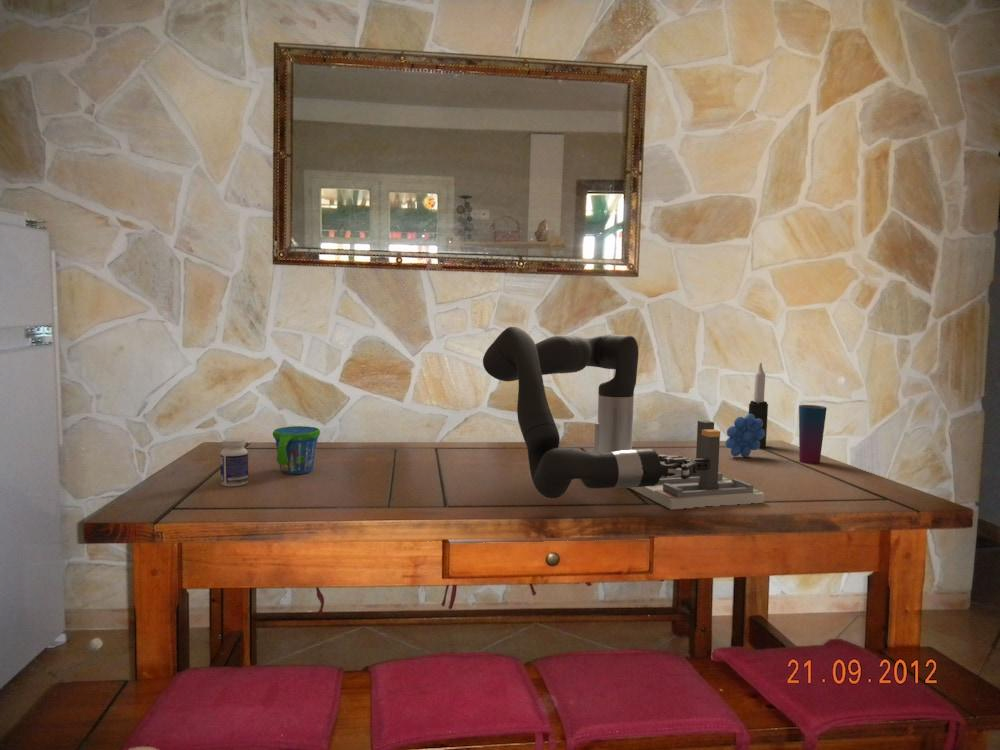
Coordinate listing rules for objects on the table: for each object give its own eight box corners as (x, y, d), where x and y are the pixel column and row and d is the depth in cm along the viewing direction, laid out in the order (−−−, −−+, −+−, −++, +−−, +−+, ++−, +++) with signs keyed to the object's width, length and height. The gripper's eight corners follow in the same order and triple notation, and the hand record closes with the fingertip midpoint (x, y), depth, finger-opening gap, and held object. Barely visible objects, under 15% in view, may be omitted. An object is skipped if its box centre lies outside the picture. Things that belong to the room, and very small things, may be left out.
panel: (670, 509, 145) (673, 435, 144) (627, 486, 163) (629, 421, 162) (764, 502, 151) (767, 432, 150) (712, 481, 170) (714, 418, 168)
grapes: (754, 453, 205) (756, 411, 204) (768, 458, 198) (770, 414, 197) (717, 454, 202) (719, 411, 201) (729, 459, 196) (731, 415, 195)
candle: (766, 445, 217) (770, 362, 215) (764, 448, 212) (769, 363, 210) (748, 444, 219) (752, 361, 217) (746, 446, 215) (750, 362, 212)
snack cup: (299, 481, 163) (298, 436, 162) (258, 477, 166) (257, 433, 165) (332, 466, 178) (332, 426, 177) (295, 463, 181) (294, 423, 180)
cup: (826, 465, 190) (829, 408, 189) (798, 463, 192) (801, 407, 190) (820, 460, 197) (823, 405, 196) (793, 458, 198) (796, 404, 197)
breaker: (706, 492, 150) (708, 431, 149) (698, 488, 153) (700, 429, 152) (718, 491, 151) (721, 431, 150) (710, 488, 154) (713, 429, 153)
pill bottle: (253, 482, 161) (253, 438, 160) (236, 488, 156) (236, 442, 155) (232, 479, 163) (232, 436, 162) (215, 485, 158) (214, 440, 157)
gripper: (617, 479, 151) (690, 474, 156) (647, 495, 139) (726, 489, 144) (618, 443, 151) (691, 440, 155) (648, 456, 138) (727, 452, 143)
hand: (708, 463), depth 149 cm, fingers closed
